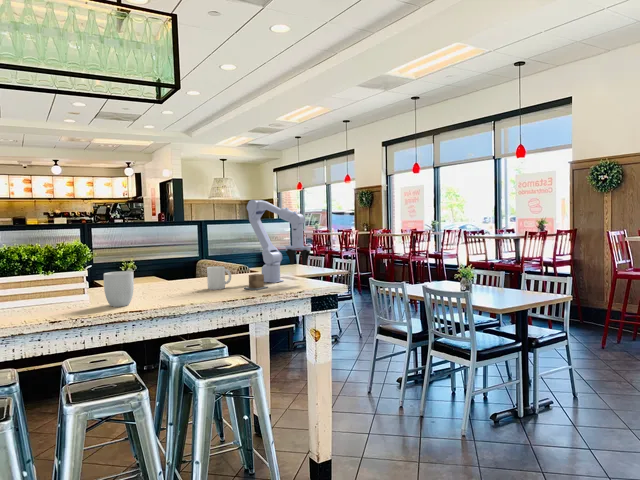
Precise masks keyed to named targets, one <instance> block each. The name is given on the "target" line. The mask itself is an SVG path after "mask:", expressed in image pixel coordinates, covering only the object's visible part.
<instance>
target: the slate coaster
mask: <svg viewBox="0 0 640 480" xmlns="http://www.w3.org/2000/svg"><path fill="white" fill-rule="evenodd" d="M265 289H269V286H265V285H264V287H261V288H249V286H248V287H247V286H245V287H244V290H250V291H260V290H265Z"/></svg>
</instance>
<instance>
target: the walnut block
mask: <svg viewBox="0 0 640 480" xmlns="http://www.w3.org/2000/svg"><path fill="white" fill-rule="evenodd" d="M264 286H265V282H264V274H262V273H253V274H249V275H248V287H249V288H261V287H264Z"/></svg>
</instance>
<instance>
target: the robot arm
mask: <svg viewBox="0 0 640 480" xmlns="http://www.w3.org/2000/svg"><path fill="white" fill-rule="evenodd" d="M246 210H247V213H248V221H249V223H250V226H251V228H252V229H253V231H254V233H255V236H256V239H257V240H258V241H259V244H260V245H261V247H262V251H261V254H262V259H263V262H264V263H265V264H263V266H262V267H261V274H264V283H274V284H275V283H280V282H284V281H285V280H284V279H281V262H282V260H283V254H282V252H280V251H279V249H278V248H277V247H276V246H275V245H274V244H273V243H272V241H271V239H270V237H269V235H268V232H267V231H266V229H265V226H264V225H263V222H262V220H261V218H262V216H263V214H264V213H265V212H266V211H269V212H271V213H273V214H275V215H278V217H279V218H280V219H281V220H283V221H286V222H288V223H289V224H290V225H291V244H292V245H286V246H285V254H286V255H287V257H288V259H289V263H290V265H294V264H295V255H296V251H300V255H301V263H302V266H306V265H307V262H308V258H309V256H310V253H311V251H312V250H311V249H312V247H311V246H305V245H304V224H305V222H306V218H305V216H304V215H303V214H302V213H297V211H293V210H291V209H290V208H289V207H282V208H281V207H279V206H277V205H274V204H273V203H270V202H269V201H266V200H263V199H260V200H255V199H250V200H249V201H248V202H247V204H246Z"/></svg>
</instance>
